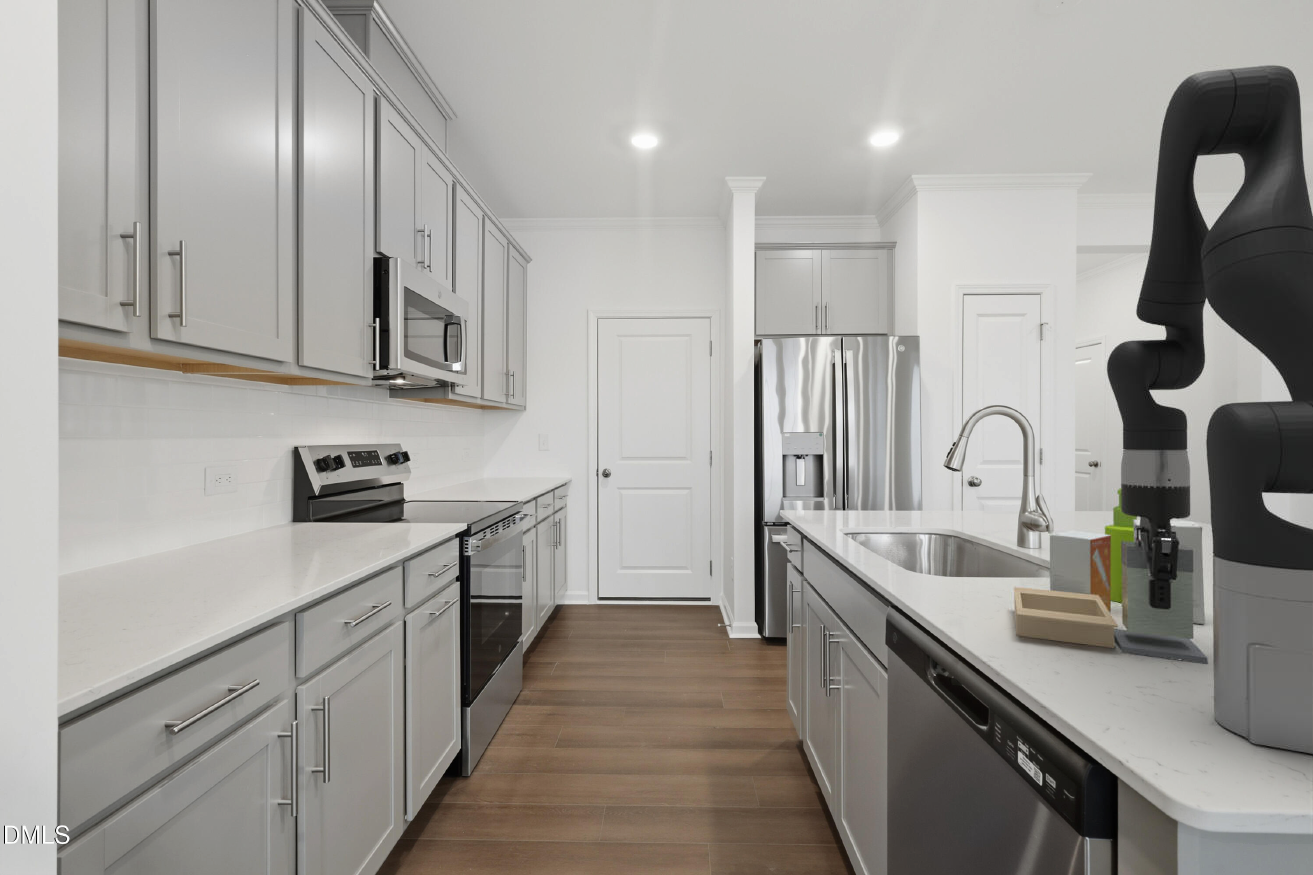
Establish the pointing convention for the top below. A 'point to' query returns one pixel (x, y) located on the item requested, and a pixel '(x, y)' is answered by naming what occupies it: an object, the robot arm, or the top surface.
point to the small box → (1081, 564)
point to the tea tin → (1136, 595)
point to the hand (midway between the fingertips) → (1155, 603)
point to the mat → (1158, 646)
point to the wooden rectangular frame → (1063, 617)
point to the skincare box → (1192, 539)
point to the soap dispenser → (1118, 546)
